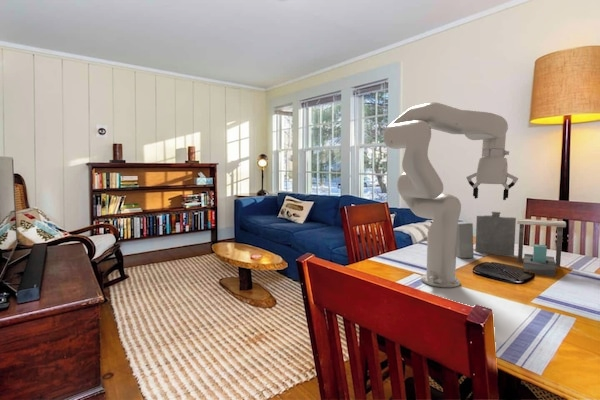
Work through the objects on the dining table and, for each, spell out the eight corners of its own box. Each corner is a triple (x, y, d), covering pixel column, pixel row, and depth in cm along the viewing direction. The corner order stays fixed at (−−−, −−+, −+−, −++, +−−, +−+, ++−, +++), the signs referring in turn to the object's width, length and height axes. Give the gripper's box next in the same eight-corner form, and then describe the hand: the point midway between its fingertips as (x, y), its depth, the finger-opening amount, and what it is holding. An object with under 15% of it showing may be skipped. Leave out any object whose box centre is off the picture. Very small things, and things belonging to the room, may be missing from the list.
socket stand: (565, 278, 124) (568, 228, 122) (513, 271, 133) (516, 224, 131) (562, 266, 139) (564, 221, 137) (515, 260, 148) (518, 218, 146)
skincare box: (473, 258, 152) (475, 223, 150) (457, 258, 152) (459, 223, 150) (465, 253, 160) (466, 220, 159) (449, 253, 160) (451, 220, 159)
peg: (544, 270, 134) (546, 245, 133) (545, 272, 130) (546, 247, 129) (532, 268, 136) (533, 244, 135) (532, 271, 132) (534, 246, 132)
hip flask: (513, 254, 158) (516, 212, 156) (514, 256, 154) (516, 213, 152) (475, 250, 166) (477, 210, 164) (475, 252, 162) (476, 211, 160)
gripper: (520, 154, 127) (517, 200, 128) (469, 155, 137) (467, 197, 138) (519, 153, 121) (515, 201, 122) (466, 154, 131) (463, 198, 132)
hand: (489, 199), depth 130 cm, fingers open, 9 cm apart
